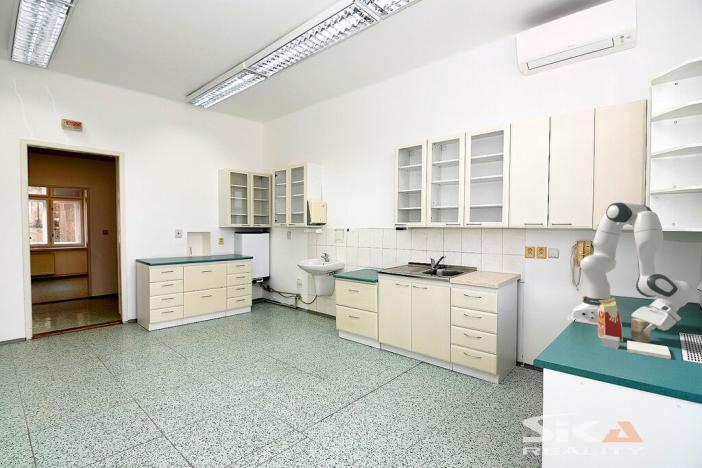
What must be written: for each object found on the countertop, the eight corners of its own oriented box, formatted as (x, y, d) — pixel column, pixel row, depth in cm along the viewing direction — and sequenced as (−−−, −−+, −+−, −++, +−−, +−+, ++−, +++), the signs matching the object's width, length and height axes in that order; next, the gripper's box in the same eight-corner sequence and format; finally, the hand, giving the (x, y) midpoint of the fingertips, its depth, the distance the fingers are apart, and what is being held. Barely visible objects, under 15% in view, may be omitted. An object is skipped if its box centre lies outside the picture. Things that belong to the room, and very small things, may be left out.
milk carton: (616, 336, 174) (616, 296, 174) (624, 341, 166) (624, 299, 165) (595, 334, 177) (595, 295, 177) (601, 339, 169) (601, 298, 168)
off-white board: (627, 352, 151) (627, 348, 151) (627, 343, 162) (627, 340, 162) (670, 359, 143) (670, 355, 143) (667, 349, 154) (667, 346, 154)
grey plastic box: (601, 346, 160) (601, 337, 160) (603, 343, 164) (603, 334, 164) (617, 349, 156) (617, 340, 156) (619, 346, 160) (619, 337, 160)
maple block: (638, 342, 164) (638, 321, 164) (631, 339, 169) (631, 318, 169) (650, 342, 163) (650, 321, 163) (642, 339, 168) (642, 318, 168)
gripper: (641, 300, 176) (620, 319, 177) (673, 309, 155) (649, 330, 157) (650, 309, 175) (629, 328, 176) (684, 319, 155) (660, 341, 156)
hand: (639, 329), depth 166 cm, fingers closed on maple block, 5 cm apart
